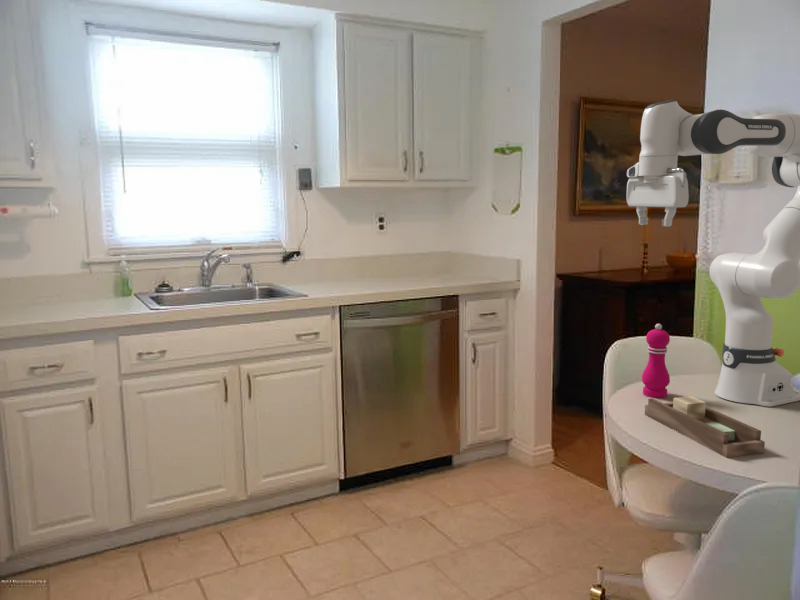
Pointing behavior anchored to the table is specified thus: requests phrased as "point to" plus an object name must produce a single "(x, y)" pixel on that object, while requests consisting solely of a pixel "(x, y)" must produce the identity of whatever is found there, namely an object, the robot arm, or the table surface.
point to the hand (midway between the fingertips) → (654, 225)
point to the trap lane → (709, 429)
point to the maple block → (690, 406)
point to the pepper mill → (656, 364)
